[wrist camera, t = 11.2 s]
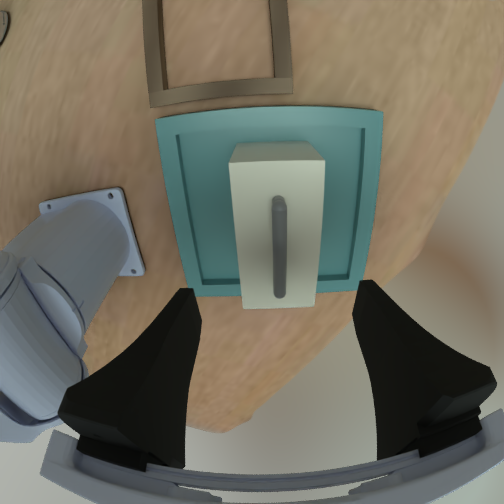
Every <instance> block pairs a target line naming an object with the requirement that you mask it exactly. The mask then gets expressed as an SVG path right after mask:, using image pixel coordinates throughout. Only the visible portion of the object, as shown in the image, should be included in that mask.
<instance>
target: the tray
mask: <svg viewBox="0 0 504 504" xmlns="http://www.w3.org/2000/svg"><path fill="white" fill-rule="evenodd" d="M155 124H156V131H157V138H158V144H159V151H160V157H161V163H162V169H163V175H164V180H165V186H166V191H167V196H168V201H169V206H170V211H171V216H172V221H173V226H174V230H175V235H176V239H177V244H178V248H179V252H180V257H181V261H182V265H183V269H184V273H185V277H186V281H187V285H188V288H193V289H194V293H195V297H202V296H242V294H241V285H240V275H239V266H238V256H237V246H236V236H235V226H234V216H233V206H232V195H231V184H230V173H229V161H230V158H231V156H232V154H233V151H234V149H235V147H236V144H237V143H248V142H272V141H308V142H309V143H310V144H311V145H312V146H313V147H314V149H315V150H316V151H317V152H318V153H319V154H320V155H321V156H322V157H323V159H324V160H325V180H324V201H323V218H322V232H321V244H320V256H319V266H318V276H317V286H316V293H322V292H339V291H353V290H358V285H359V281H360V280H363V276H364V271H365V266H366V261H367V256H368V250H369V245H370V239H371V233H372V227H373V221H374V214H375V207H376V199H377V191H378V182H379V172H380V161H381V148H382V131H383V112H382V111H378V110H373V109H363V108H352V107H337V106H313V105H276V106H252V107H237V108H225V109H215V110H206V111H198V112H191V113H184V114H177V115H171V116H165V117H161V118H158V119H155Z"/></svg>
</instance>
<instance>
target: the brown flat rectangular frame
mask: <svg viewBox="0 0 504 504" xmlns="http://www.w3.org/2000/svg"><path fill="white" fill-rule="evenodd" d="M142 8H143V33H144V49H145V62H146V73H147V83H148V93H149V101H150V108H153V107H158V106H163V105H168V104H174V103H180V102H187V101H193V100H201V99H209V98H217V97H227V96H239V95H255V94H293V78H292V60H291V45H290V32H289V20H288V8H287V0H269V9H270V20H271V33H272V47H273V61H274V77H275V78H263V79H244V80H232V81H222V82H213V83H205V84H197V85H191V86H184V87H178V88H173V89H168V83H167V72H166V61H165V48H164V34H163V15H162V0H142Z"/></svg>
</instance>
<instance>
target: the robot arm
mask: <svg viewBox="0 0 504 504" xmlns="http://www.w3.org/2000/svg"><path fill="white" fill-rule="evenodd" d="M110 193H112V194H113V197H111V196H110ZM50 205H51V207H50ZM39 210H40V212H41V215H40V216H39V217H38V218H36V219H35V220H34V221H33V222H32V223H30V224H29V225H28V226H27V227H26V228H25V229H24V230H22V231H21V232H20V233H19V234H18V235H17V236H16V237H15V238H14V239H13V240H11V241H10V242H9V243H8V244H7V245H6V246H5V248H4V249H3V250H2V251H0V442H13V443H30V442H32V441H33V440H34V439H35V438H36V437H37V436H38V435H40V434H41V433H42V432H43V431H45V430H46V429H49V428H51V427H55V426H58V425H61V424H63V423H66V424H67V425H68V426H69V427H71V428H72V429H73V430H75V431H76V432H78V433H79V434H80V438H79V440H78V439H76V438H74V437H72V436H69V435H67V434H64V433H61V432H59V431H57V430H53V432H52V435H51V438H50V441H49V444H48V447H47V451H46V454H45V457H44V460H43V464H42V468H41V471H40V474H41V476H43V477H45V478H46V479H48V480H50V481H52V482H54V483H56V484H57V485H59V486H61V487H63V488H65V489H67V490H69V491H71V492H73V493H75V494H77V495H79V496H81V497H83V498H85V499H88V500H90V501H92V502H94V503H97V504H429V503H431V502H433V501H436V500H438V499H440V498H442V497H444V496H446V495H448V494H450V493H452V492H454V491H455V490H457V489H459V488H461V487H463V486H464V485H466V484H468V483H469V482H471V481H473V480H475V479H476V478H478V477H479V476H481V475H483V474H484V473H486V472H487V471H489V470H491V469H492V468H494V467H495V466H497V465H498V464H500V463H501V462H502V461H504V413H503V410H502V409H499V410H497V411H495V412H493V413H491V414H489V415H487V416H486V417H484V418H482V419H481V420H479V417H478V415H479V414H480V413H481V410H480V407H479V406H480V405H481V404H482V403H483V402H484V401H485V400H486V399H487V398H488V397H489V396H490V395H491V394H492V393H493V391H494V390H495V388H496V386H497V382H496V380H495V378H494V375H493V373H492V371H491V369H490V367H488V366H486V365H483V364H481V363H479V362H476V361H475V360H472V359H470V358H468V357H466V356H465V355H463V354H461V353H459V352H457V351H455V350H454V349H452V348H450V347H449V346H447V345H446V344H444V343H443V342H441V341H440V340H438V339H437V338H436V337H434V336H433V335H432V334H430V333H429V332H427V331H426V330H425V329H424V328H423V327H421V326H420V325H419V324H418V323H417V322H416V321H414V320H413V319H412V318H411V317H410V316H409V315H408V314H407V313H406V312H405V311H403V310H402V309H401V308H400V307H399V306H398V305H397V304H396V303H395V302H394V301H393V300H392V299H391V298H390V297H389V296H388V295H387V294H386V293H385V292H384V291H383V290H382V289H381V288H380V287H379V286H378V285H377V284H376V283H375V282H374V281H373V280H360V281H359V285H358V290H357V295H356V299H355V304H354V308H353V312H352V316H353V321H354V326H355V331H356V335H357V338H358V341H359V344H360V348H361V351H362V354H363V357H364V360H365V363H366V367H367V369H368V373H369V377H370V381H371V387H372V393H373V399H374V407H375V416H376V428H377V461H374V462H369V463H365V464H360V465H354V466H349V467H343V468H337V469H330V470H323V471H314V472H305V473H291V474H269V475H245V474H223V473H210V472H200V471H192V470H184V469H183V468H184V467H185V428H186V413H187V401H188V392H189V386H190V380H191V376H192V372H193V367H194V363H195V359H196V355H197V351H198V346H199V342H200V334H201V325H202V319H201V315H200V312H199V308H198V304H197V301H196V297H195V293H194V289H193V288H180V289H179V290H178V291H177V292H176V293H175V295H174V296H173V297H172V298H171V300H170V301H169V302H168V304H167V305H166V306H165V307H164V309H163V310H162V311H161V312H160V313H159V315H158V316H157V317H156V318H155V319H154V321H153V322H152V323H151V324H150V325H149V326H148V327H147V328H146V330H145V331H144V332H143V333H142V334H141V335H140V336H139V337H138V338H137V339H136V340H135V341H134V342H133V343H132V344H131V345H130V346H129V347H128V348H127V349H125V350H124V351H123V352H122V353H121V354H120V355H118V356H117V357H116V358H114V359H113V360H112V361H111V362H109V363H108V364H107V365H105V366H104V367H103V368H101V369H100V370H98V371H97V372H95V373H93V374H92V375H90V376H89V373H88V369H87V367H86V364H85V363H84V361H83V360H82V357H83V355H84V353H85V351H86V349H87V347H88V346H87V344H86V342H85V340H84V335H85V333H86V331H87V329H88V327H89V325H90V323H91V321H92V320H93V318H94V316H95V314H96V312H97V310H98V309H99V307H100V305H101V303H102V302H103V300H104V298H105V296H106V295H107V293H108V291H109V290H110V288H111V286H112V285H113V283H114V281H115V280H116V278H117V276H142V275H144V273H145V267H144V264H143V261H142V258H141V255H140V252H139V248H138V245H137V242H136V238H135V235H134V231H133V228H132V224H131V221H130V217H129V213H128V209H127V206H126V202H125V198H124V194H123V191H122V190H121V189H120V188H118V187H115V188H109V189H103V190H97V191H92V192H86V193H81V194H76V195H71V196H66V197H61V198H56V199H52V200H47V201H43V202H41V203H40V204H39ZM133 269H134V270H136V271H134V270H133ZM388 474H389V475H388ZM385 475H388V476H385ZM380 476H385V477H382V478H379V479H375V480H372V481H369V482H365V483H362V484H361V485H360V486H359V487H357V488H354V489H351V490H349V492H348V493H349V495H347V496H341V497H335V498H327V499H319V500H309V501H298V502H285V503H224V502H222V498H221V497H217V496H213V495H211V494H210V493H209V492H204V491H199V490H193V489H188V488H183V487H179V486H186V487H193V488H201V489H210V490H222V491H240V492H278V491H296V490H307V489H317V488H325V487H332V486H338V485H344V484H349V483H354V482H359V481H364V480H369V479H373V478H377V477H380ZM178 485H179V486H178Z"/></svg>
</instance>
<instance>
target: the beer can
mask: <svg viewBox="0 0 504 504" xmlns="http://www.w3.org/2000/svg"><path fill="white" fill-rule="evenodd" d="M7 24H8V16H7V13H6V12H5V11H0V42H1V41H2V39H3V37H4V35H5V32H6V29H7Z"/></svg>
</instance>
